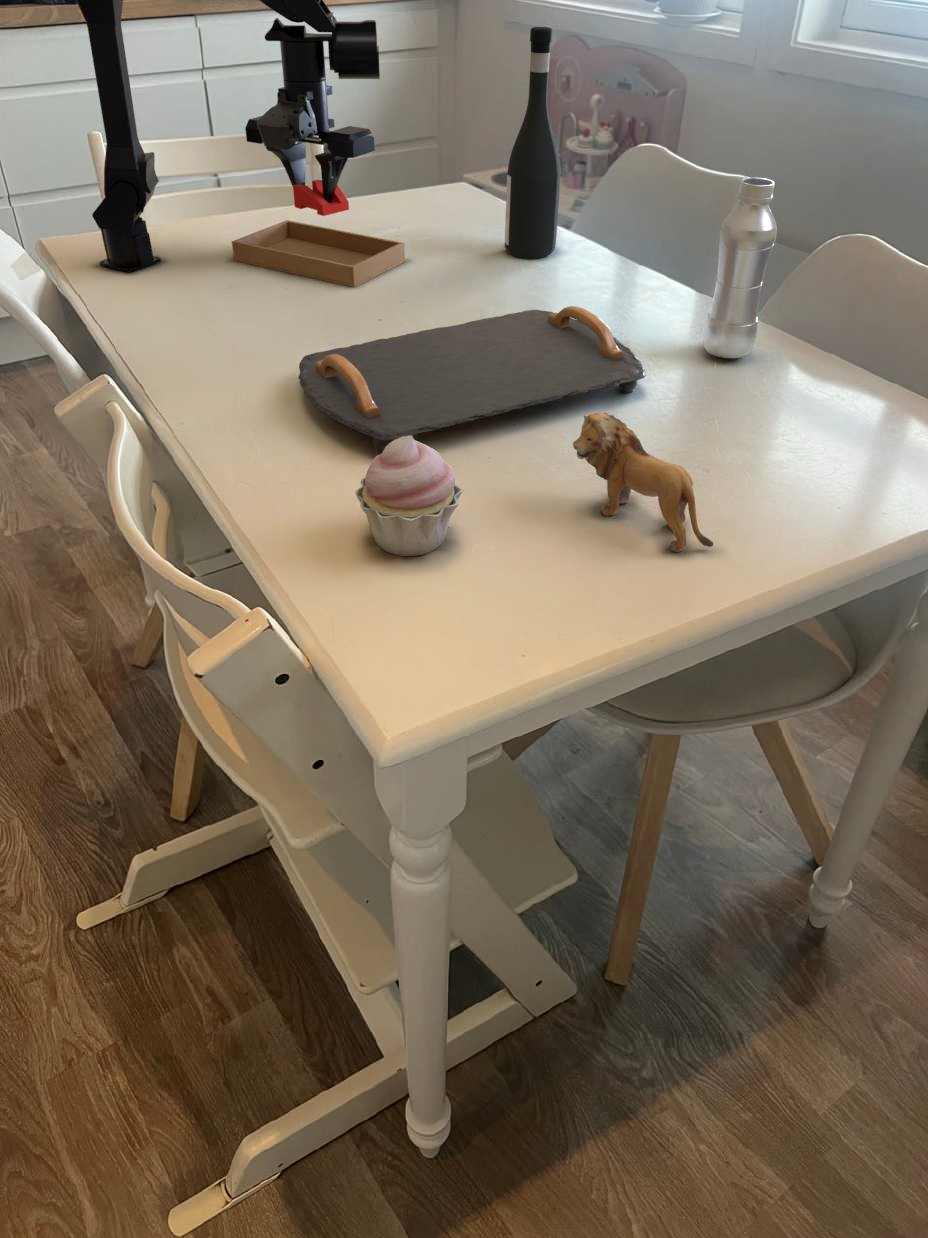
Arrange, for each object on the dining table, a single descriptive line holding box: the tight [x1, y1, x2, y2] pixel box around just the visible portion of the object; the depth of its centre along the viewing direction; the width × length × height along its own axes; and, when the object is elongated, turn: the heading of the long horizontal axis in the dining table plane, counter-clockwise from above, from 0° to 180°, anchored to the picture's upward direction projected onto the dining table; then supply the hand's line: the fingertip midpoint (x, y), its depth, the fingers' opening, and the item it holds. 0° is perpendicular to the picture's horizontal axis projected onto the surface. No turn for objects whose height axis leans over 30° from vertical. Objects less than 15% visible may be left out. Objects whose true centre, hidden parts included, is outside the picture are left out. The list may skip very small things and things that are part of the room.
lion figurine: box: [572, 411, 714, 553], centre depth 85 cm, size 15×5×9 cm, turn 50°
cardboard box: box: [231, 219, 406, 288], centre depth 144 cm, size 22×13×3 cm, turn 60°
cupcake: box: [354, 435, 465, 557], centre depth 82 cm, size 9×9×10 cm
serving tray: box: [298, 305, 647, 455], centre depth 108 cm, size 39×23×6 cm, turn 119°
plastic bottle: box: [702, 177, 778, 359], centre depth 112 cm, size 6×7×20 cm
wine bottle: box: [504, 26, 562, 259], centre depth 140 cm, size 8×8×30 cm
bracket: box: [292, 179, 350, 217], centre depth 138 cm, size 6×5×3 cm
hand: (314, 200), depth 139 cm, fingers closed on bracket, 4 cm apart
